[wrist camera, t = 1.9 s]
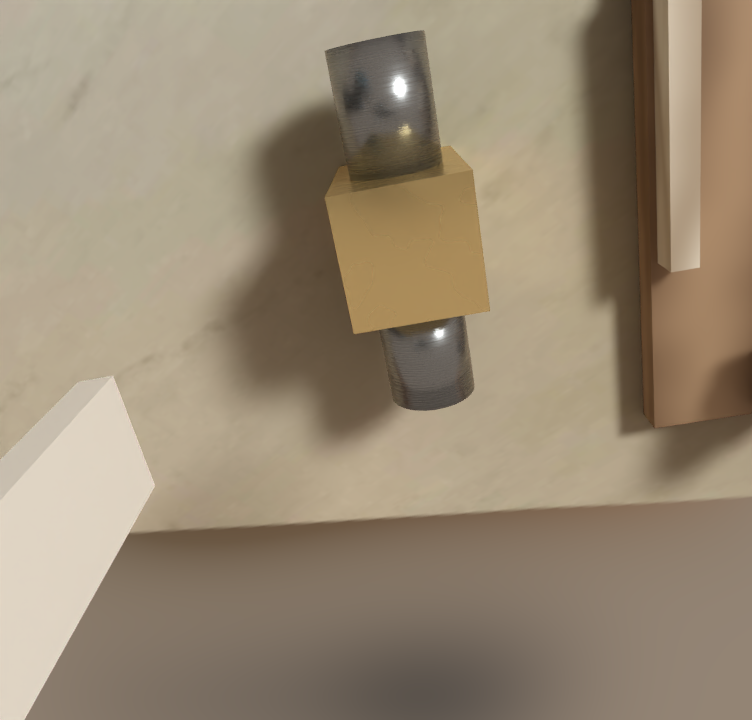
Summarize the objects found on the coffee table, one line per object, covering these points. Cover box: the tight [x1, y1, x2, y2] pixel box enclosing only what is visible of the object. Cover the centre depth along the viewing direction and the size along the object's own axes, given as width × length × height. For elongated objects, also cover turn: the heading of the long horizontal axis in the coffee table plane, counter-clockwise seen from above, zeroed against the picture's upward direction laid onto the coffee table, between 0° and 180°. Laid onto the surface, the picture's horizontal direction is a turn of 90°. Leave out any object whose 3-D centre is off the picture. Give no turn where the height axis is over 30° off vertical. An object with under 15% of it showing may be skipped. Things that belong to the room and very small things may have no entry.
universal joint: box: [325, 31, 490, 410], centre depth 27 cm, size 5×14×8 cm, turn 11°
